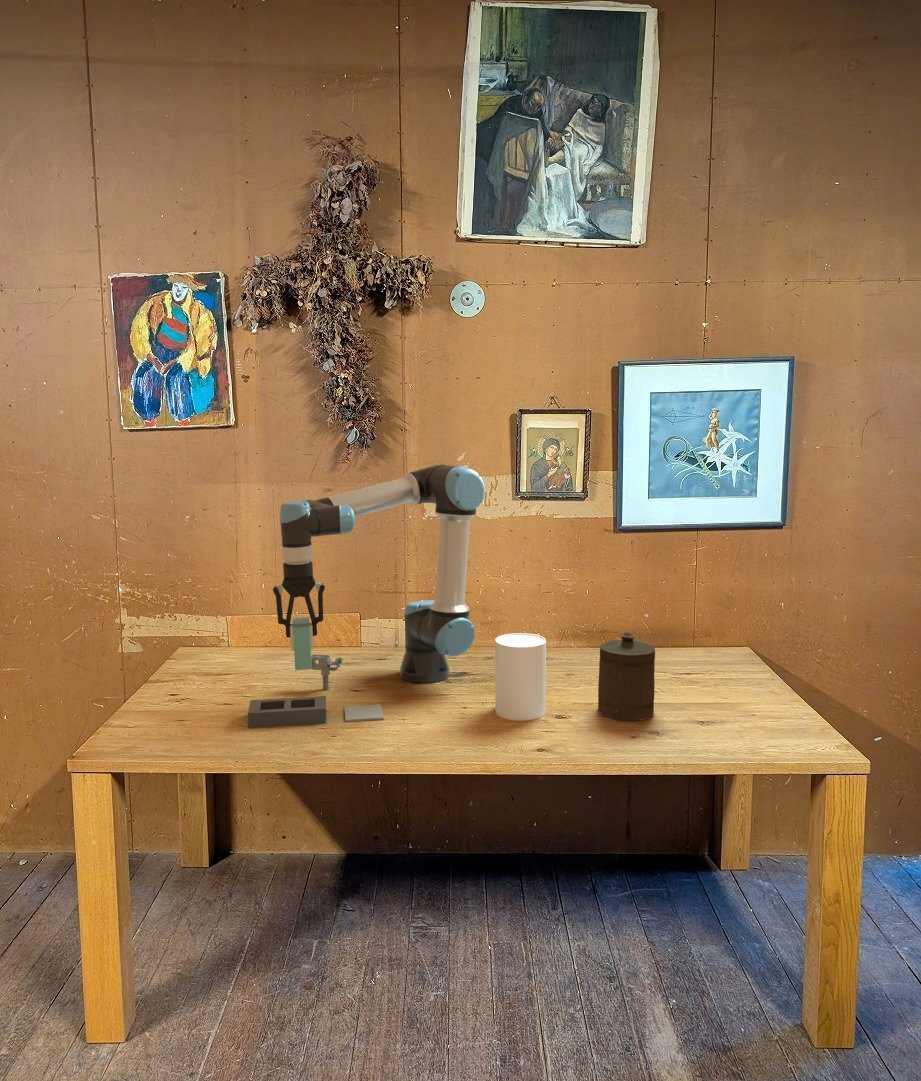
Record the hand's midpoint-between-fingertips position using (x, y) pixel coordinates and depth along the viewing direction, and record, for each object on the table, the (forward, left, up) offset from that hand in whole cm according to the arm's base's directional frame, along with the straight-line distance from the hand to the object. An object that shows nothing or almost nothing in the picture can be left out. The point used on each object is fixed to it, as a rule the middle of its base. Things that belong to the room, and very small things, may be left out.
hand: (302, 648), depth 232 cm
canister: (-58, +5, -19) cm, 61 cm away
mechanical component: (-6, -22, -19) cm, 30 cm away
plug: (0, 0, -5) cm, 5 cm away
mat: (-16, 0, -19) cm, 25 cm away
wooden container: (-86, +10, -19) cm, 88 cm away
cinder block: (+4, 0, -19) cm, 20 cm away
